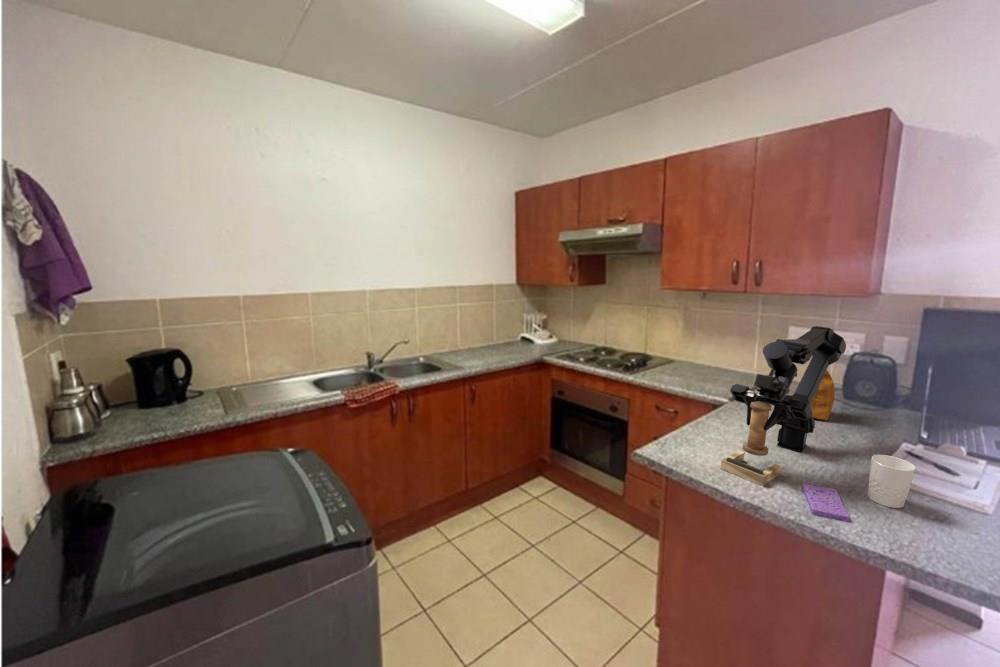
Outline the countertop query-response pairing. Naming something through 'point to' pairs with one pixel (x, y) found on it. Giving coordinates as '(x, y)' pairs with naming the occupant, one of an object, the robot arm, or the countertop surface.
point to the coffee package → (823, 398)
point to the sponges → (825, 502)
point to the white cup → (890, 480)
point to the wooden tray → (749, 469)
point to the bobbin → (757, 429)
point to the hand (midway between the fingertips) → (756, 427)
